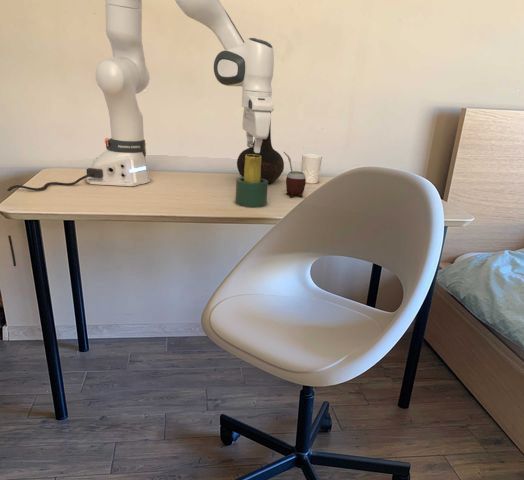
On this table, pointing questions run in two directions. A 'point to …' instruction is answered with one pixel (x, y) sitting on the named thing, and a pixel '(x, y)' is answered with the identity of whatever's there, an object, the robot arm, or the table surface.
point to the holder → (251, 193)
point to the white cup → (311, 167)
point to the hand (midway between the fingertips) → (253, 149)
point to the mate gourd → (295, 182)
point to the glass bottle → (264, 160)
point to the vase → (252, 168)
